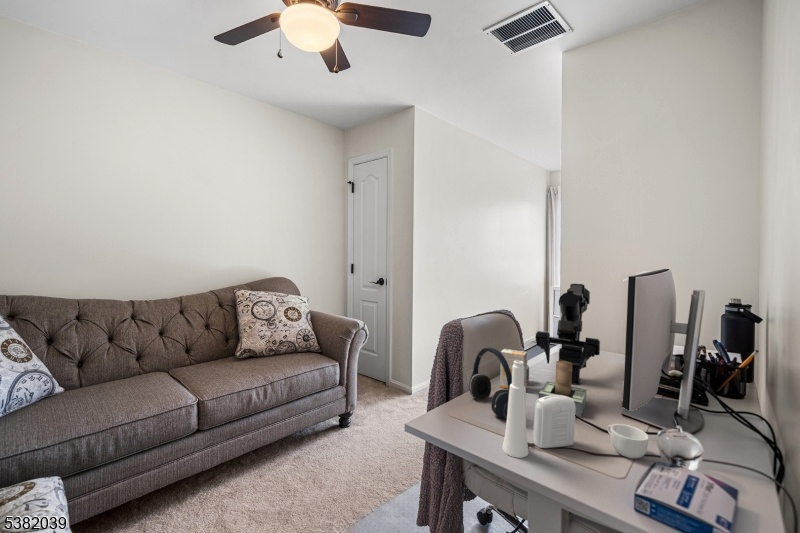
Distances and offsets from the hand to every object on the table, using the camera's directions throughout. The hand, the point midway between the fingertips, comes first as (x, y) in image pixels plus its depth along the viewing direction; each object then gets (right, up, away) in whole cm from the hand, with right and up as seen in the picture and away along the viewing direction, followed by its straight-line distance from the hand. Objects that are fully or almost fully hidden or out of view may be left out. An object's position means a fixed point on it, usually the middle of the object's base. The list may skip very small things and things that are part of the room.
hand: (563, 365), depth 111 cm
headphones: (-23, -13, -1) cm, 26 cm away
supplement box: (-11, -12, +15) cm, 23 cm away
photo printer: (-12, -14, -21) cm, 28 cm away
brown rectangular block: (0, -12, +2) cm, 13 cm away
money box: (0, -13, +2) cm, 13 cm away
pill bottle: (-6, -12, +21) cm, 25 cm away
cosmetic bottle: (-23, -14, -25) cm, 36 cm away
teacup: (+4, -15, -23) cm, 28 cm away
